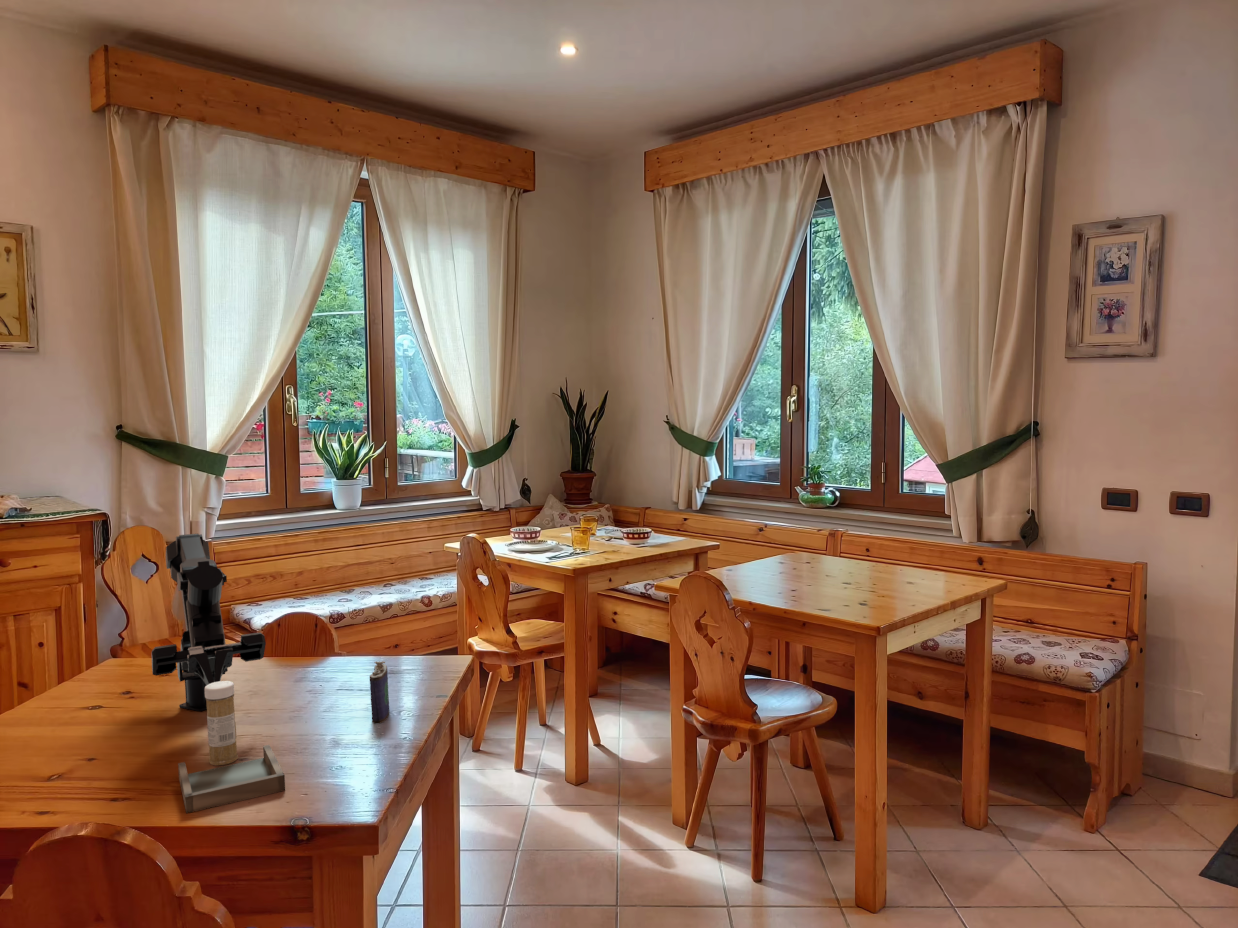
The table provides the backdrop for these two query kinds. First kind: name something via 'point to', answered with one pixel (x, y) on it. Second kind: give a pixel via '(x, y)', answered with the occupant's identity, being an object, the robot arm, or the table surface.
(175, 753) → the table surface
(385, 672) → the flask
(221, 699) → the sprinkles bottle
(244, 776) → the tray
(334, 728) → the table surface
